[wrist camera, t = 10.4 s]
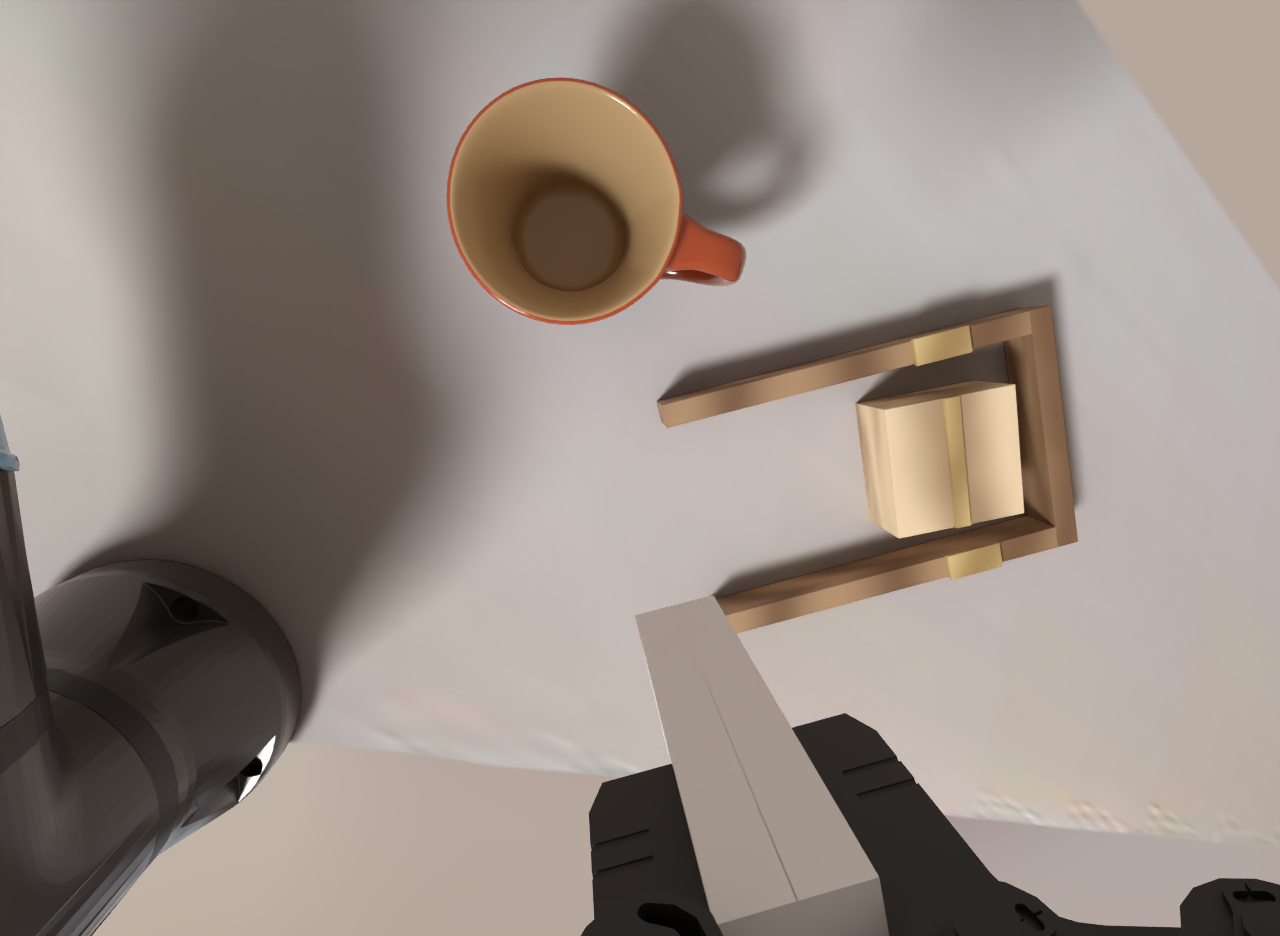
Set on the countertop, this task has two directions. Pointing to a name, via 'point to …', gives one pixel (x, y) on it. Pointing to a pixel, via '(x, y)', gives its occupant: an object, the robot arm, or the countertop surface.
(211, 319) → the countertop surface
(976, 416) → the block
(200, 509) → the countertop surface
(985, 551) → the beam slot
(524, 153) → the mug
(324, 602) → the countertop surface
